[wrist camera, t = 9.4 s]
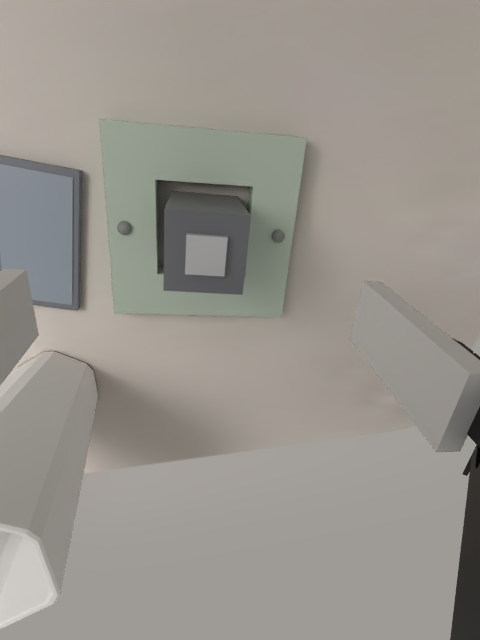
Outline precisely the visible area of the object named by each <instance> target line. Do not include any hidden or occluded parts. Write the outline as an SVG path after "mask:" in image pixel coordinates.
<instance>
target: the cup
mask: <svg viewBox="0 0 480 640" xmlns="http://www.w3.org/2000/svg"><path fill="white" fill-rule="evenodd" d="M97 399H98V392H97V387H96V382H95V377H94V372H93V370H92V369H91V368H90V367H89V366H88V365H87V364H86V363H84V362H81V361H78V360H76V359H73V358H71V357H68V356H65V355H63V354H60V353H58V352H43V353H41V354H40V355H38V356H36V357H35V358H33V359H31V360H30V361H28V362H26V363H25V364H23V365H21V366H20V367H18V368H17V369H16V370H15V371H14V372H13V373H12V374H11V375H10V376H9V377H7V378H6V379H5V380H4V381H3V383H2V384H1V385H0V629H1V628H3V627H5V626H8V625H10V624H12V623H14V622H16V621H18V620H20V619H22V618H24V617H26V616H28V615H31V614H33V613H35V612H36V611H39V610H41V609H43V608H45V607H47V606H49V605H51V604H53V603H55V602H56V600H57V598H58V597H59V595H60V594H61V589H62V584H63V579H64V573H65V568H66V563H67V558H68V552H69V547H70V542H71V537H72V531H73V526H74V521H75V515H76V510H77V504H78V499H79V494H80V489H81V484H82V478H83V473H84V468H85V463H86V457H87V452H88V447H89V442H90V436H91V431H92V426H93V421H94V415H95V410H96V405H97Z"/></svg>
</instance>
